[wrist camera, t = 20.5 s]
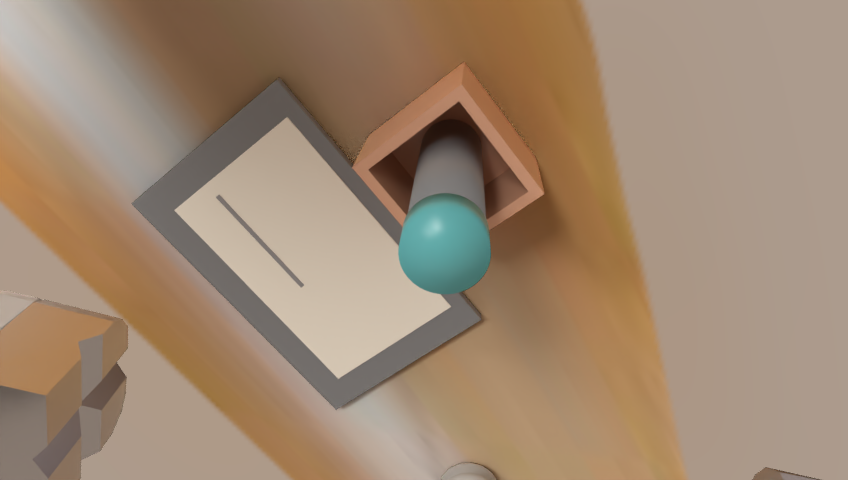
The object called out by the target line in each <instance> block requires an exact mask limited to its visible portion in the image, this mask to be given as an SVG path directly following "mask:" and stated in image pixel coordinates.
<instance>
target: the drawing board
mask: <svg viewBox="0 0 848 480" xmlns="http://www.w3.org/2000/svg"><path fill="white" fill-rule="evenodd" d="M352 167H353V164H352V162H351V161H350V160H349V159H348V158H347V157H346V155H345V154H344V153H343V152H342V151H341V149H340V148H339V147H338V146H337V145H336V144H335V142H334V141H333V140H332V139H331V138H330V137H329V135H328V134H327V133H326V132H325V131H324V129H323V128H322V127H321V126H320V125H319V124H318V122H317V121H316V120H315V119H314V118H313V117H312V115H311V114H310V113H309V112H308V111H307V110H306V108H305V107H304V106H303V105H302V104H301V102H300V101H299V100H298V99H297V98H296V97H295V95H294V94H293V93H292V92H291V91H290V90H289V88H288V87H287V86H286V85H285V84H284V82H283V81H282V80H281V79H280V78H278V79H277V80H275V81H274V82H273V83H272V84H271V85H270V86H268V87H267V88H266V89H265V90H264V91H263V92H261V93H260V94H259V95H258V96H257V97H256V98H254V99H253V100H252V101H251V102H250V103H249V104H247V105H246V106H245V107H244V108H243V109H241V110H240V111H239V112H238V113H237V114H236V115H234V116H233V117H232V118H231V119H230V120H229V121H227V122H226V123H225V124H224V125H223V126H222V127H220V128H219V129H218V130H217V131H216V132H215V133H213V134H212V135H211V136H210V137H209V138H208V139H206V140H205V141H204V142H203V143H202V144H201V145H199V146H198V147H197V148H196V149H195V150H194V151H192V152H191V153H190V154H189V155H188V156H187V157H185V158H184V159H183V160H182V161H181V162H180V163H178V164H177V165H176V166H175V167H174V168H173V169H171V170H170V171H169V172H168V173H167V174H166V175H164V176H163V177H162V178H161V179H160V180H159V181H157V182H156V183H155V184H154V185H153V186H151V187H150V188H149V189H148V190H147V191H146V192H144V193H143V194H142V195H141V196H140V197H139V198H137V199H136V200H135V201H134V202H133V203H132V205H133V206H134V207H135V208H136V209H137V210H138V211H139V212H140V213H141V214H142V215H143V216H144V217H145V218H146V219H147V220H148V221H149V222H150V223H151V224H152V225H153V226H154V227H155V228H156V229H157V230H158V231H159V232H160V233H161V234H162V235H163V236H164V237H165V238H166V239H167V240H168V241H169V242H170V243H171V244H172V245H173V246H174V247H175V248H176V249H177V250H178V251H179V252H180V253H181V254H182V255H183V256H184V257H185V258H186V259H187V260H188V261H189V262H190V263H191V264H192V265H193V266H194V267H195V268H196V269H197V270H198V271H199V272H200V273H201V274H202V275H203V276H204V277H205V278H206V279H207V280H208V281H209V282H210V283H211V284H212V285H213V286H214V287H215V288H216V289H217V290H218V291H219V292H220V293H221V294H222V295H223V296H224V297H225V298H226V299H227V300H228V301H229V302H230V303H231V304H232V305H233V306H234V307H235V308H236V309H237V310H238V311H239V312H240V313H241V314H242V315H243V316H244V317H245V319H246V320H247V321H248V322H249V323H250V324H251V325H252V326H253V327H254V328H255V329H256V330H257V331H258V332H259V333H260V334H261V335H262V336H263V337H264V338H265V339H266V340H267V341H268V342H269V343H270V344H271V345H272V346H273V347H274V348H275V349H276V350H277V351H278V352H279V353H280V354H281V355H282V356H283V357H284V358H285V359H286V360H287V361H288V362H289V363H290V364H291V365H292V366H293V367H294V368H295V369H296V370H297V371H298V372H299V373H300V374H301V375H302V376H303V377H304V378H305V379H306V380H307V381H308V382H309V383H310V384H311V385H312V386H313V387H314V388H315V389H316V390H317V391H318V392H319V393H320V394H321V395H322V396H323V397H324V398H325V399H326V400H327V401H328V402H329V403H330V404H331V405H332V406H333V407H334V408H335V409H336V410H337V409H338V408H340V407H341V406H343V405H345V404H346V403H348V402H349V401H351V400H353V399H354V398H356V397H358V396H359V395H361V394H362V393H364V392H366V391H367V390H369V389H370V388H372V387H374V386H375V385H377V384H378V383H380V382H382V381H383V380H385V379H387V378H388V377H390V376H391V375H393V374H395V373H396V372H398V371H399V370H401V369H403V368H404V367H406V366H407V365H409V364H411V363H412V362H414V361H416V360H417V359H419V358H420V357H422V356H424V355H425V354H427V353H428V352H430V351H432V350H433V349H435V348H436V347H438V346H440V345H441V344H443V343H445V342H446V341H448V340H449V339H451V338H453V337H454V336H456V335H457V334H459V333H461V332H462V331H464V330H466V329H467V328H469V327H470V326H472V325H474V324H475V323H477V322H478V321H480V320H481V314H480V313H479V312H478V311H477V309H476V308H475V307H474V306H473V305H472V304H471V302H470V301H469V300H468V299H467V298H466V296H465V295H464V294H463V293H462V292H459V293H454V294H436V293H432V292H429V291H426V290H424V289H421V288H420V287H418V286H417V285H415V284H414V283H413V282H412V281H411V280H410V279H409V278H408V277H407V276H406V275H405V273H404V271H403V270H402V267H401V265H400V261H399V255H398V249H399V243H400V238H401V233H402V228H403V227H402V226H401V225H400V223H399V222H398V221H397V220H396V219H395V218H394V216H393V215H392V214H391V213H390V212H389V211H388V209H387V208H386V207H385V206H384V205H383V203H382V202H381V201H380V200H379V199H378V198H377V196H376V195H375V194H374V193H373V192H372V191H371V189H370V188H369V187H368V186H367V185H366V184H365V182H364V181H363V180H362V179H361V178H360V176H359V175H358V174H357V173H356V172H355V171H354V169H353V168H352Z"/></svg>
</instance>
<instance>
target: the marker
mask: <svg viewBox="0 0 848 480" xmlns="http://www.w3.org/2000/svg"><path fill="white" fill-rule="evenodd" d="M398 255H399V261H400V265H401V267H402V270H403V271H404V273H405V275H406V276H407V277H408V278H409V279H410V280H411V281H412V282H413V283H414V284H415V285H417V286H418V287H420V288H421V289H424V290H426V291H429V292H432V293H436V294H454V293H459V292H462V291H464V290H467V289H469V288H470V287H472V286H474V285H475V284H476V283H477V282H478V281H479V280H480V279H481V278H482V277H483V276H484V274H485V273H486V271H487V269H488V266H489V263H490V258H491V248H490V234H489V226H488V222H487V219H486V209H485V194H484V179H483V164H482V148H481V141H480V138H479V136H478V134H477V133H476V131H475V130H474V129H473V128H472V127H471V126H470V125H468V124H467V123H465V122H462V121H459V120H453V119H450V120H443V121H440V122H438V123H436V124H434V125H433V126H431V127H430V128H429V129H428V130H427V132H426V133H425V135H424V137H423V139H422V143H421V148H420V153H419V158H418V163H417V168H416V174H415V179H414V184H413V189H412V194H411V199H410V204H409V209H408V214H407V216H406V217H405V220H404V223H403V228H402V233H401V238H400V243H399V249H398Z"/></svg>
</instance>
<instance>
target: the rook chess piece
mask: <svg viewBox="0 0 848 480" xmlns="http://www.w3.org/2000/svg"><path fill="white" fill-rule="evenodd" d="M441 480H497V479H496V478H495V476H494V475H493V474H492V472H490V471H489V470H488V469H486V468H485V467H483V466H481V465H479V464H475V463H471V462H470V463H460V464H458V465H455V466H453V467H451V468H449V469H448V470H447V471H446V472H445V473H444V474H443V475H442V478H441Z"/></svg>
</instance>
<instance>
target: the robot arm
mask: <svg viewBox="0 0 848 480" xmlns="http://www.w3.org/2000/svg"><path fill="white" fill-rule="evenodd" d="M127 348H128V326H127V324H126V323H125V322H124V321H123V319H120V318H116V317H112V316H108V315H104V314H100V313H96V312H92V311H88V310H84V309H80V308H76V307H72V306H69V305H64V304H61V303H57V302H52V301H49V300H41V299H39V298H36V297H31V296H27V295H23V294H19V293H14V292H10V291H6V290H3V291H0V480H80V478H81V460H82V459H84V458H86V457H89V456H91V455H93V454H95V453H97V452H99V451H101V449H102V448H103V446H104V445H105V443H106V442H107V440H108V439H109V437H110V436H111V434H112V433H113V430H114V428H115V426H116V423H117V421H118V419H119V416H120V414H121V412H122V407H123V403H124V399H125V394H126V378H127V377H126V376H125V374H124V373H123V371H122V370H121V368H120V367H119V365H118V364H117V361H118V360H119V359H120V357H121V356H122V355H123V354H124V352H125V351H126V350H127ZM752 480H820V479H816V478H811V477H807V476H802V475H798V474H794V473H789V472H785V471H780V470H776V469H771V468H767V467H765V468H764V469H763V470H761V471H760V472H758V473H757V474H756V475H755V476H754V478H753V479H752Z"/></svg>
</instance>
